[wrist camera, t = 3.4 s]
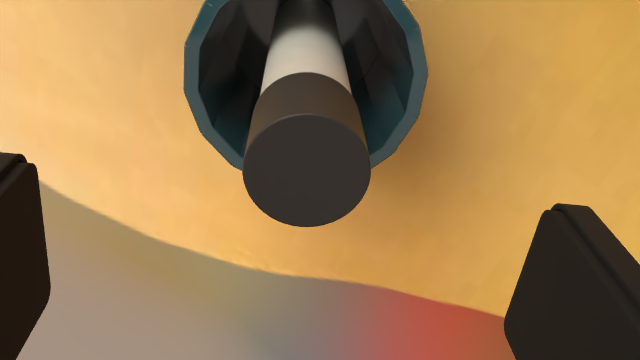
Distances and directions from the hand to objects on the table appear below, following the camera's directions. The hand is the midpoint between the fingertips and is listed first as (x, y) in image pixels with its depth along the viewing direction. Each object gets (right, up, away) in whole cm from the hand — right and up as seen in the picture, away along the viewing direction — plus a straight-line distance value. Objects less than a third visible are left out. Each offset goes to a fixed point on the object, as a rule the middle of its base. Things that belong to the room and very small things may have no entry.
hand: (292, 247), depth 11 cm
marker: (0, +8, +15) cm, 17 cm away
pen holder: (0, +8, +15) cm, 18 cm away
